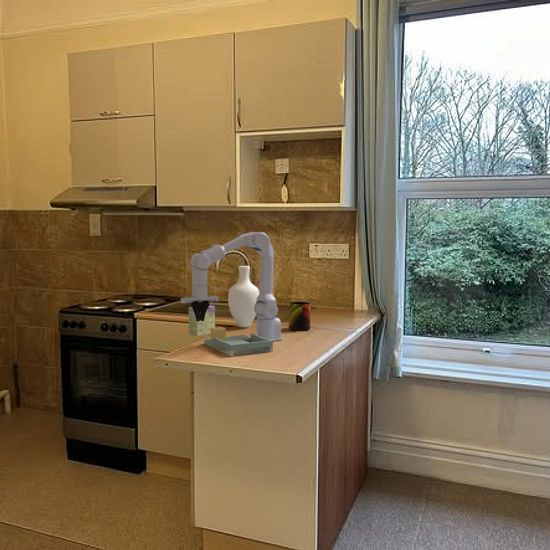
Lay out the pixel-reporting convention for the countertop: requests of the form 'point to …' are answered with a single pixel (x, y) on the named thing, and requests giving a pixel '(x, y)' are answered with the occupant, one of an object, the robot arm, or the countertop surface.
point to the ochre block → (218, 333)
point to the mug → (299, 316)
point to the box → (201, 322)
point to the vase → (243, 299)
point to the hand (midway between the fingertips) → (200, 321)
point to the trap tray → (241, 344)
